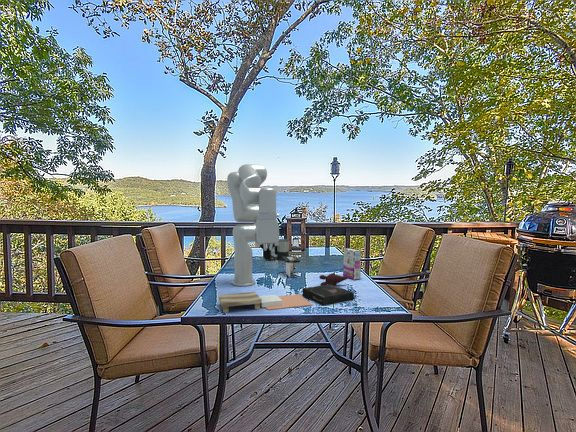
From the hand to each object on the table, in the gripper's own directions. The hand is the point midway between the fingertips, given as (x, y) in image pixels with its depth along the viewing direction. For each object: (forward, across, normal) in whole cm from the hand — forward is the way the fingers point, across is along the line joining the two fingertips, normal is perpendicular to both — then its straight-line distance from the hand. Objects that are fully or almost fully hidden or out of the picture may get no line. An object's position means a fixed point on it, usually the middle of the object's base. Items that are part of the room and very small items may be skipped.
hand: (267, 259), depth 144 cm
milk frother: (+21, -36, -95) cm, 104 cm away
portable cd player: (+20, -29, +1) cm, 35 cm away
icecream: (+20, -41, -17) cm, 49 cm away
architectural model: (+20, -28, -47) cm, 59 cm away
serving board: (+19, +12, +1) cm, 23 cm away
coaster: (+19, -1, +1) cm, 19 cm away
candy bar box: (+20, -59, -29) cm, 69 cm away
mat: (+19, -8, +1) cm, 21 cm away
